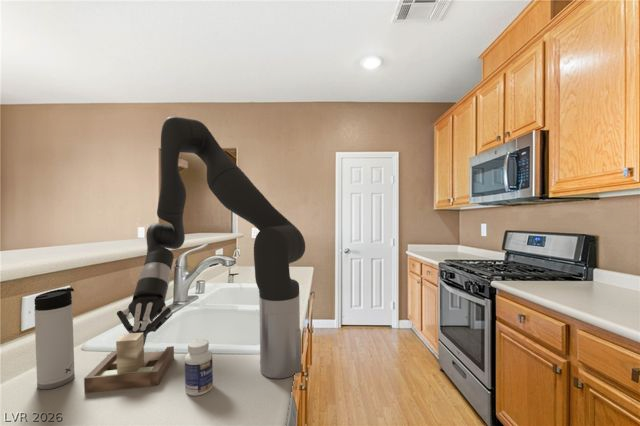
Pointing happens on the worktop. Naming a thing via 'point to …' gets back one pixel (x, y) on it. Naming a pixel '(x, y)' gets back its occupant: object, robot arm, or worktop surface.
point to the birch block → (130, 352)
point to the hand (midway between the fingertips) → (135, 349)
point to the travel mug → (54, 338)
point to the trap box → (147, 375)
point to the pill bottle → (198, 368)
